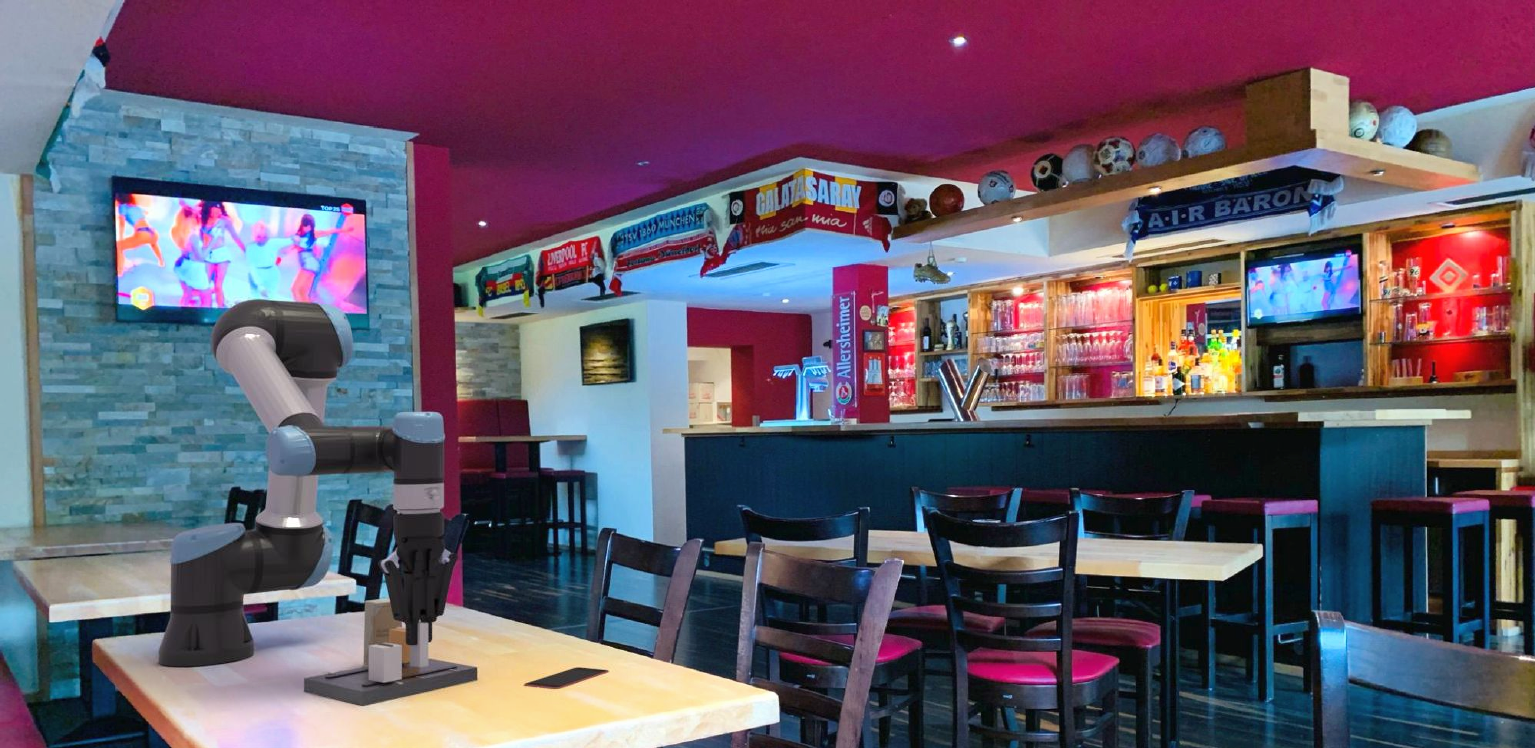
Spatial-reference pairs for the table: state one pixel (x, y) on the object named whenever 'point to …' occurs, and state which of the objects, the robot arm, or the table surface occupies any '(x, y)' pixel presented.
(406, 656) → the fader orange
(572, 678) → the smartphone
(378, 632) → the box
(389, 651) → the fader grey
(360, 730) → the table surface
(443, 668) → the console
